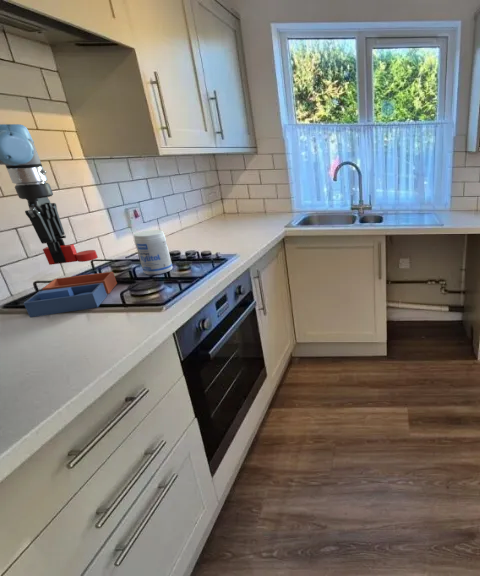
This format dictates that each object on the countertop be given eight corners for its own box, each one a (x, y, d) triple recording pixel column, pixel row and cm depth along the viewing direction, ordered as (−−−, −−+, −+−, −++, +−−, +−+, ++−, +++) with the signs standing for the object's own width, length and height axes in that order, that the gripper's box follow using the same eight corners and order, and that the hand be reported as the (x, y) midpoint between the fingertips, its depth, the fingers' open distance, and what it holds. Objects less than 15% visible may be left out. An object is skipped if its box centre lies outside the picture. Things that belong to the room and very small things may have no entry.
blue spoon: (42, 311, 104) (35, 295, 102) (50, 304, 109) (44, 289, 107) (92, 304, 108) (86, 288, 106) (98, 297, 113) (93, 282, 111)
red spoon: (47, 266, 109) (40, 250, 107) (54, 261, 114) (48, 245, 112) (94, 260, 113) (88, 244, 111) (100, 255, 118) (94, 240, 116)
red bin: (47, 302, 112) (41, 288, 110) (60, 291, 119) (55, 278, 118) (109, 293, 117) (104, 280, 115) (117, 283, 125) (113, 271, 123)
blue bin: (29, 317, 102) (23, 303, 100) (44, 304, 110) (39, 291, 108) (97, 307, 107) (92, 293, 105) (107, 295, 115) (102, 282, 113)
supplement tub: (142, 277, 130) (130, 237, 124) (145, 269, 137) (134, 231, 132) (173, 272, 133) (162, 233, 128) (174, 265, 141) (164, 228, 136)
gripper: (34, 185, 98) (67, 267, 107) (59, 179, 111) (86, 252, 120) (-1, 187, 95) (35, 270, 105) (28, 181, 109) (58, 255, 118)
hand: (62, 260), depth 113 cm, fingers closed on red spoon, 2 cm apart
